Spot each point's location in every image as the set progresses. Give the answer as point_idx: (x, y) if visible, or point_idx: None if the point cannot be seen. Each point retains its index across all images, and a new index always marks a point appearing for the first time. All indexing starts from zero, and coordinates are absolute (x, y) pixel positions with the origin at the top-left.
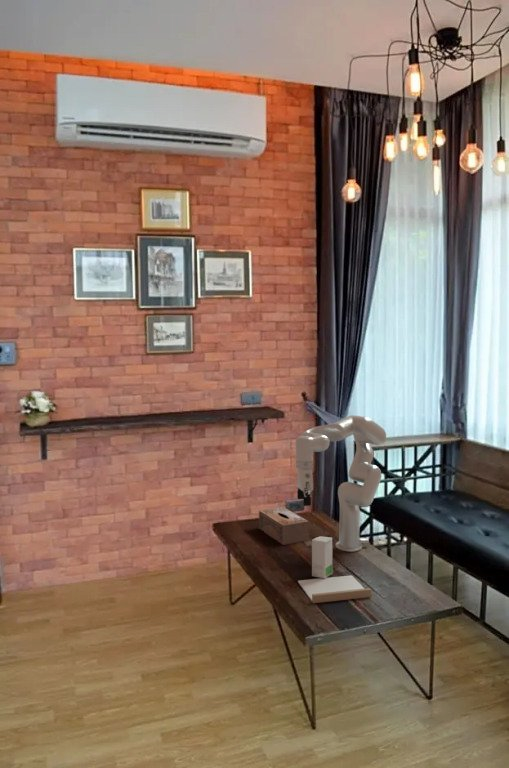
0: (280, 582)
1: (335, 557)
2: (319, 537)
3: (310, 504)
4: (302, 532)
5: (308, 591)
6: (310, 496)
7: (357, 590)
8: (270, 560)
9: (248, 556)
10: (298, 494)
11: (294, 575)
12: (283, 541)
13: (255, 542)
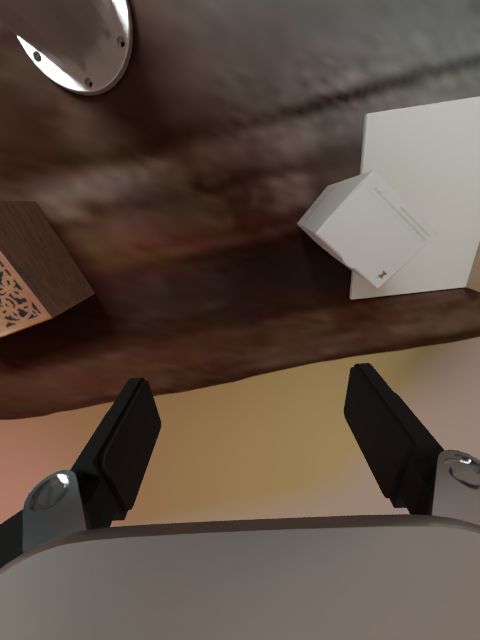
0: (338, 336)
1: (191, 131)
2: (348, 242)
3: (372, 370)
4: (25, 229)
5: (419, 286)
6: (478, 466)
7: None
8: (208, 339)
9: (183, 380)
10: (144, 465)
11: (308, 299)
12: (88, 295)
13: (89, 358)
